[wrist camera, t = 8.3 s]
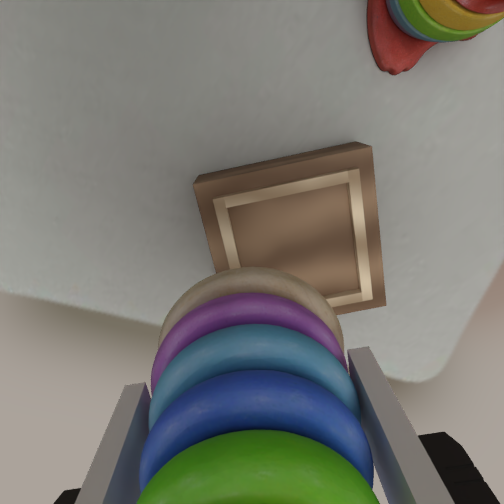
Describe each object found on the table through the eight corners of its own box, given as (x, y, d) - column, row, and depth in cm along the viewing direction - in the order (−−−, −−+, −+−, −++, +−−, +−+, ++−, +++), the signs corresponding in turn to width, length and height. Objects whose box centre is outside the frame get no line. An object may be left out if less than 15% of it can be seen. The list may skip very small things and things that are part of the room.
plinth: (198, 175, 38) (191, 186, 33) (355, 141, 38) (374, 147, 32) (233, 311, 44) (232, 339, 39) (370, 284, 43) (389, 309, 38)
